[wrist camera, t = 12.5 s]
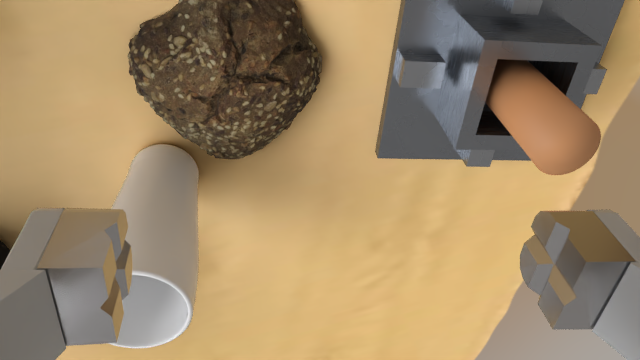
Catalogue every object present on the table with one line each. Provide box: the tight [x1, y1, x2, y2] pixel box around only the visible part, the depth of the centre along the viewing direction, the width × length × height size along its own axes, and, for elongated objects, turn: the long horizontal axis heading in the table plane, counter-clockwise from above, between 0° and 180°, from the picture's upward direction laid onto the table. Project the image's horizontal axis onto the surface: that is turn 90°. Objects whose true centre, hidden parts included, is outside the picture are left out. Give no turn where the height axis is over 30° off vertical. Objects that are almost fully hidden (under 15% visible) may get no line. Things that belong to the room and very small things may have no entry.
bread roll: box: [128, 0, 322, 159], centre depth 37 cm, size 13×12×5 cm
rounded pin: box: [485, 59, 601, 175], centre depth 36 cm, size 4×4×11 cm
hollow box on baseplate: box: [375, 0, 624, 167], centre depth 39 cm, size 16×16×6 cm
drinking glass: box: [109, 144, 199, 348], centre depth 37 cm, size 7×7×15 cm
